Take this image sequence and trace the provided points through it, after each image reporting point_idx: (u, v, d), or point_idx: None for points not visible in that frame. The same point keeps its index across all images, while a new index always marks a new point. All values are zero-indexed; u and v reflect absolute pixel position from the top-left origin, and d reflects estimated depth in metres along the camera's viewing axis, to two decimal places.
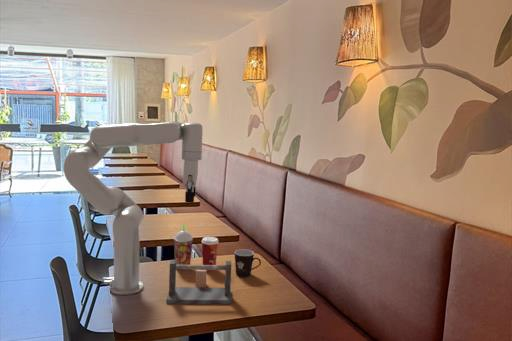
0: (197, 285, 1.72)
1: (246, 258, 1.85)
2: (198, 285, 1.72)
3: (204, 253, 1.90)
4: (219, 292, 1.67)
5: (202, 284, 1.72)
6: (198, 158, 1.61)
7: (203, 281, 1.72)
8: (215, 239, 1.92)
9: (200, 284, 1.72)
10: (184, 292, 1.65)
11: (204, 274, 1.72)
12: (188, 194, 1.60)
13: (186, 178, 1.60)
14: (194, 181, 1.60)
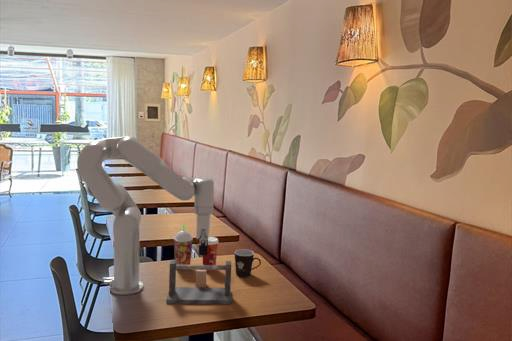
0: (197, 285, 1.72)
1: (246, 258, 1.85)
2: (198, 285, 1.72)
3: None
4: (219, 292, 1.67)
5: (202, 284, 1.72)
6: (210, 212, 1.68)
7: (203, 281, 1.72)
8: (215, 239, 1.92)
9: (200, 284, 1.72)
10: (184, 292, 1.65)
11: (204, 274, 1.72)
12: (202, 248, 1.67)
13: (199, 232, 1.66)
14: (207, 235, 1.67)
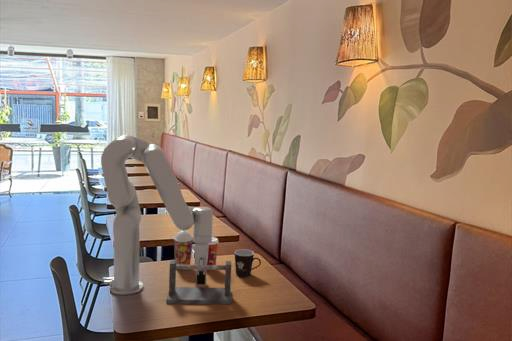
0: (197, 285, 1.72)
1: (246, 258, 1.85)
2: (198, 285, 1.72)
3: None
4: (219, 292, 1.67)
5: None
6: (209, 241, 1.70)
7: None
8: (215, 239, 1.92)
9: (200, 284, 1.72)
10: (184, 292, 1.65)
11: None
12: (199, 277, 1.70)
13: (197, 261, 1.68)
14: (205, 264, 1.69)
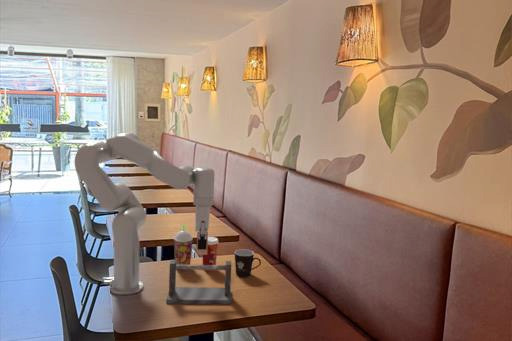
0: (198, 250, 1.62)
1: (246, 258, 1.85)
2: (199, 250, 1.63)
3: None
4: (219, 292, 1.67)
5: None
6: (210, 204, 1.60)
7: None
8: (215, 239, 1.92)
9: (201, 249, 1.63)
10: (184, 292, 1.65)
11: None
12: (201, 241, 1.61)
13: (199, 224, 1.58)
14: (207, 227, 1.59)
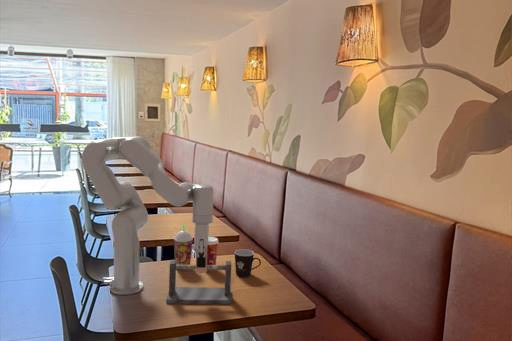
0: (197, 268, 1.61)
1: (246, 258, 1.85)
2: (198, 268, 1.61)
3: None
4: (219, 292, 1.67)
5: None
6: (209, 221, 1.58)
7: None
8: (215, 239, 1.92)
9: None
10: (184, 292, 1.65)
11: (205, 256, 1.60)
12: (200, 259, 1.59)
13: (197, 242, 1.57)
14: (205, 245, 1.57)
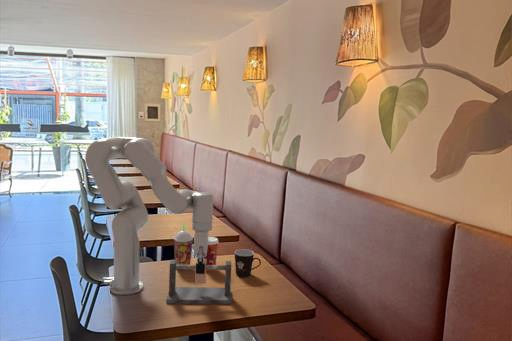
0: (196, 279, 1.61)
1: (246, 258, 1.85)
2: (197, 279, 1.61)
3: None
4: (219, 292, 1.67)
5: (202, 277, 1.61)
6: (209, 229, 1.59)
7: (203, 274, 1.61)
8: (215, 239, 1.92)
9: (200, 278, 1.61)
10: (184, 292, 1.65)
11: None
12: (199, 266, 1.57)
13: (197, 250, 1.57)
14: (205, 252, 1.58)
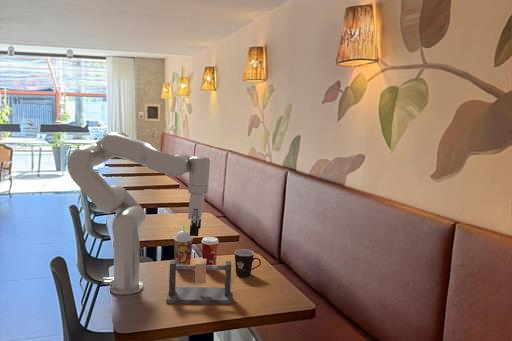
0: (196, 279, 1.61)
1: (246, 258, 1.85)
2: (197, 279, 1.61)
3: (204, 253, 1.90)
4: (219, 292, 1.67)
5: (202, 277, 1.61)
6: (204, 192, 1.61)
7: (203, 274, 1.61)
8: (215, 239, 1.92)
9: (200, 278, 1.61)
10: (184, 292, 1.65)
11: (204, 267, 1.61)
12: (193, 228, 1.60)
13: (191, 212, 1.60)
14: (199, 215, 1.60)
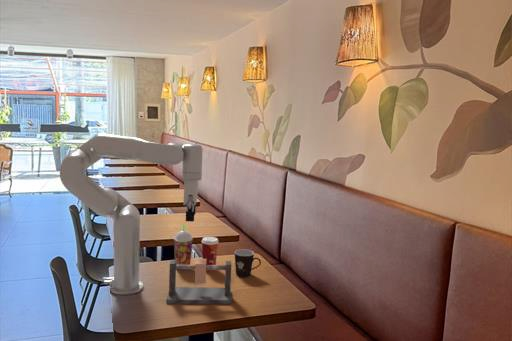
0: (196, 279, 1.61)
1: (246, 258, 1.85)
2: (197, 279, 1.61)
3: (204, 253, 1.90)
4: (219, 292, 1.67)
5: (202, 277, 1.61)
6: (198, 178, 1.67)
7: (203, 274, 1.61)
8: (215, 239, 1.92)
9: (200, 278, 1.61)
10: (184, 292, 1.65)
11: (204, 267, 1.61)
12: (188, 213, 1.65)
13: (186, 198, 1.65)
14: (194, 201, 1.66)
